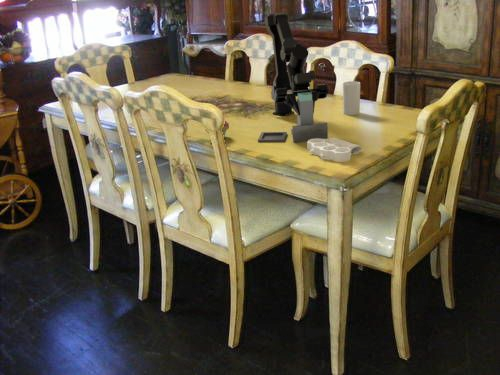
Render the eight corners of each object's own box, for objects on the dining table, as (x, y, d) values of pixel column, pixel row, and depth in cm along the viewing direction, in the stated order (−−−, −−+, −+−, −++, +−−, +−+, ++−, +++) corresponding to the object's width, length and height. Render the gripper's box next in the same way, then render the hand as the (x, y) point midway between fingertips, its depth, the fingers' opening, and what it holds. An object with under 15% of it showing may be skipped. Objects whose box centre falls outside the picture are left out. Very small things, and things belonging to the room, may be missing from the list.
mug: (363, 114, 234) (363, 83, 230) (347, 116, 232) (347, 85, 228) (351, 108, 243) (351, 79, 239) (336, 110, 241) (336, 81, 237)
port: (286, 135, 214) (285, 119, 212) (319, 131, 216) (318, 115, 214) (293, 143, 205) (293, 126, 202) (327, 140, 206) (327, 123, 204)
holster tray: (261, 135, 216) (261, 132, 216) (286, 135, 215) (286, 131, 214) (258, 143, 208) (258, 139, 207) (284, 142, 206) (283, 139, 206)
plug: (297, 129, 212) (296, 93, 207) (310, 128, 213) (309, 91, 208) (301, 132, 208) (300, 95, 203) (313, 131, 209) (312, 94, 204)
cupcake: (206, 136, 219) (203, 104, 215) (229, 134, 220) (226, 102, 215) (206, 143, 211) (203, 109, 207) (230, 141, 212) (228, 108, 207)
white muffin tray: (368, 156, 190) (332, 166, 183) (331, 143, 204) (297, 152, 197) (368, 145, 189) (332, 156, 182) (331, 133, 203) (296, 142, 196)
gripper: (274, 65, 204) (283, 104, 198) (327, 60, 207) (337, 98, 201) (270, 83, 214) (278, 121, 208) (320, 78, 217) (330, 116, 211)
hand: (306, 114), depth 207 cm, fingers closed on plug, 4 cm apart
